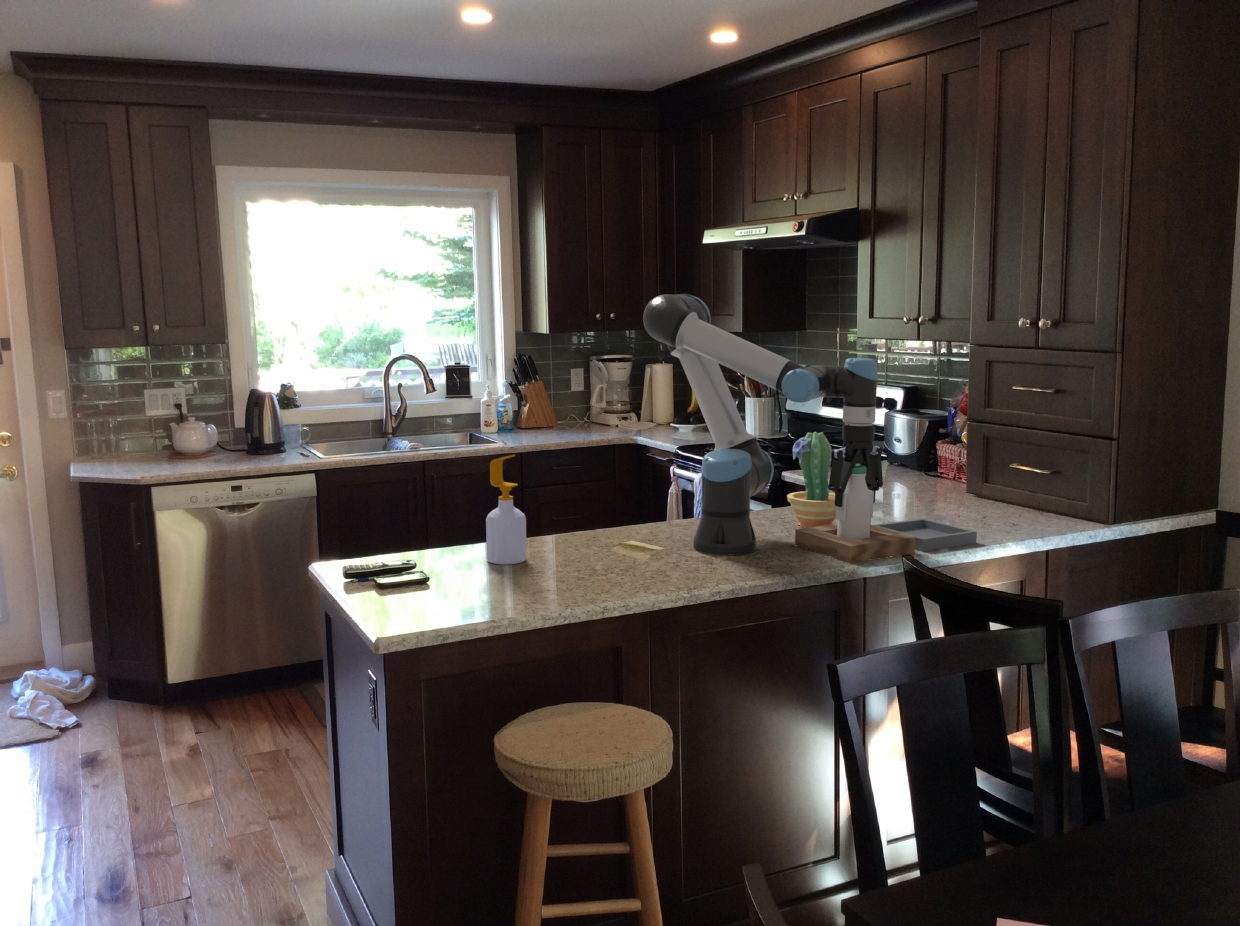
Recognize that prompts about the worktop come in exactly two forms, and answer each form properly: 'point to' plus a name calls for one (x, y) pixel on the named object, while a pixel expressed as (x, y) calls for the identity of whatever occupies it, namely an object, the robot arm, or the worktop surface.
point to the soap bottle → (505, 523)
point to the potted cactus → (813, 482)
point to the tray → (932, 534)
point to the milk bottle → (856, 507)
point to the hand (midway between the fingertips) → (854, 518)
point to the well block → (855, 543)
